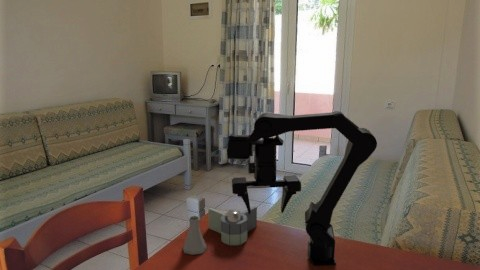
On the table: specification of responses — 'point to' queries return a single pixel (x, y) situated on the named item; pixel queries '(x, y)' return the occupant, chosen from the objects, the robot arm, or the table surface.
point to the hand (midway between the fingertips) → (265, 213)
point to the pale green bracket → (227, 239)
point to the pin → (233, 215)
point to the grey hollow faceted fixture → (240, 222)
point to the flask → (194, 238)
